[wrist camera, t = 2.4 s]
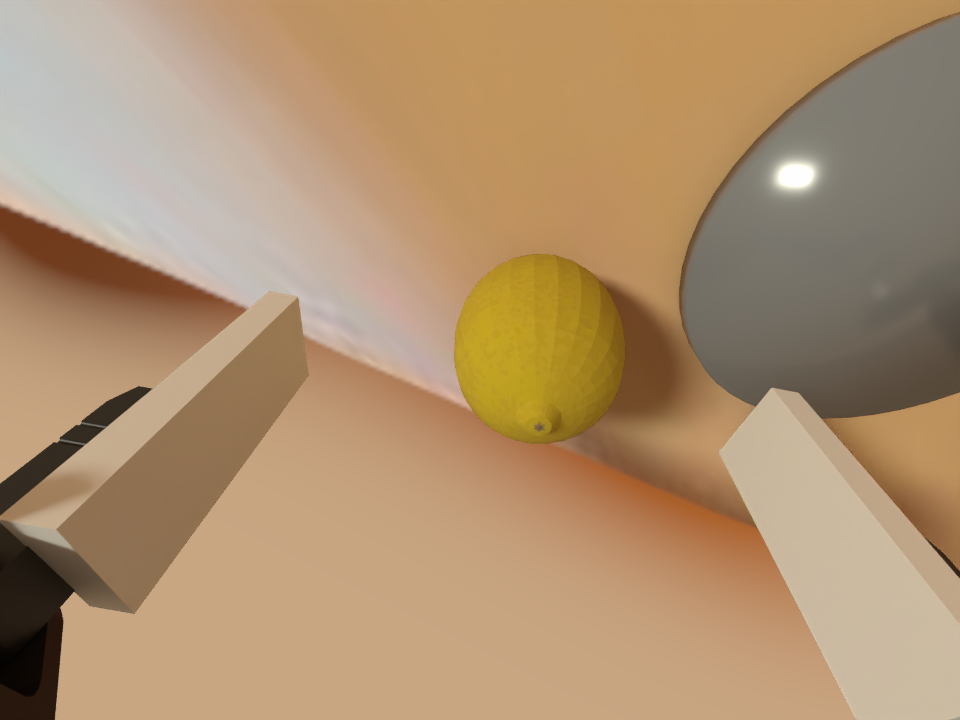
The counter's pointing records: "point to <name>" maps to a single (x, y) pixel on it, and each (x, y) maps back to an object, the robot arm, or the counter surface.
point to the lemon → (539, 349)
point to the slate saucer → (841, 241)
